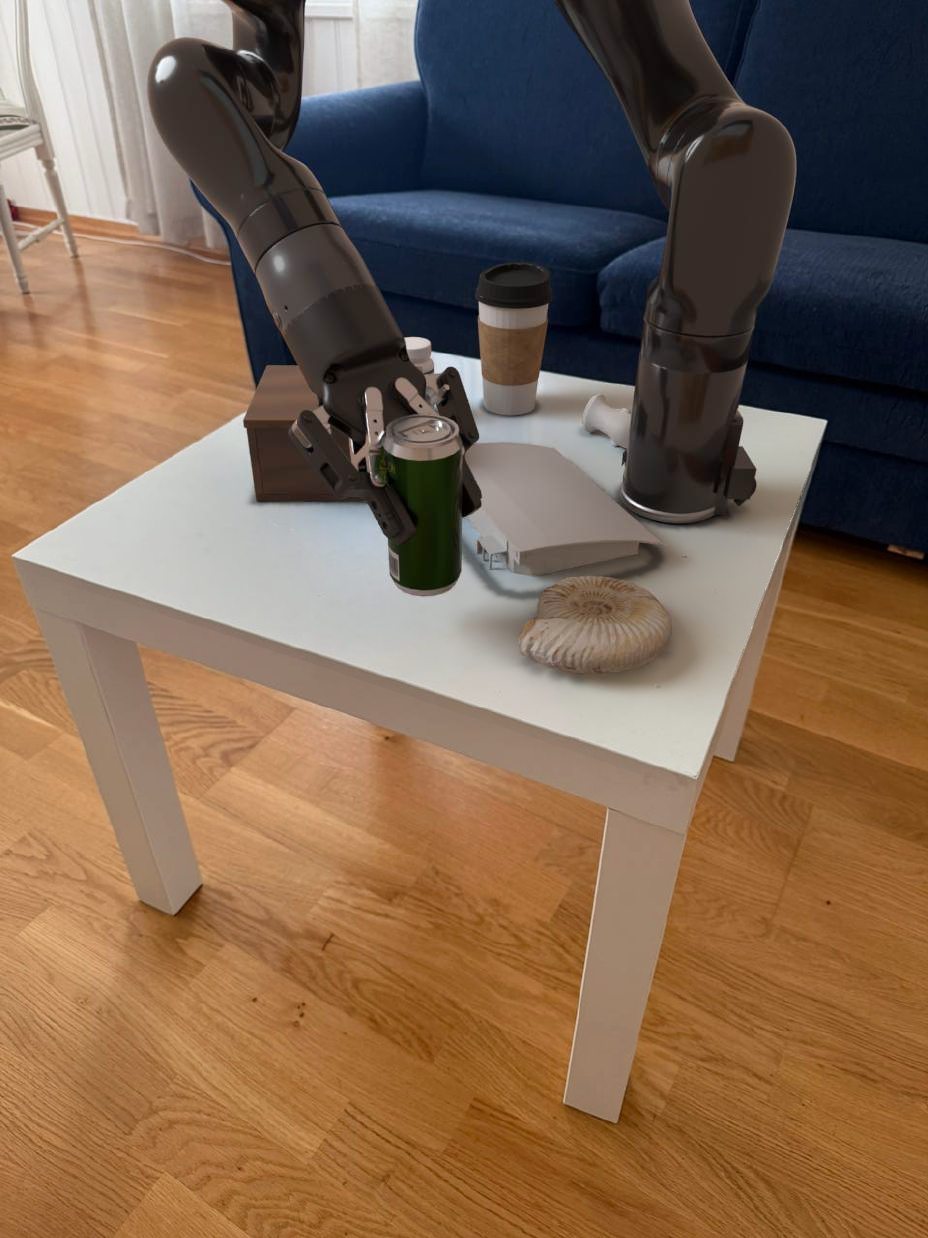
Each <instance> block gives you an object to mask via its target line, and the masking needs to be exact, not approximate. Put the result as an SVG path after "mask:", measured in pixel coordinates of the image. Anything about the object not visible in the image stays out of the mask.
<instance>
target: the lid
mask: <svg viewBox="0 0 928 1238" xmlns="http://www.w3.org/2000/svg"><path fill="white" fill-rule="evenodd" d="M416 367H417V368H419V369H420V370H421V371H422V372H423V367H422V366H416ZM317 408H318V399H317V395H316V394H315V393H314V392H312V391H311V389H310V388H309V386H308V384H307V382H306V380H305V378H304V376H303V374H302V372H301V370H300V368H299V366H298V364H297V365H293V364H291V365H290V364H289V365H285V364H284V365H282V364H281V365H280V364H277V365H276V364H268V365H267V364H266V366H265V369H264V371H263V374H262V376H261V377H260V380H259V383H258V384H257V387H256V389H255V392H254V394H253V396H252V399H251V401H250V403H249V405H248V408H247V410H246V411H245V412H246V413H245V415H244V417H243V419H242V422H243V428H244V429H246V428H291V426H292V425H293V423H294V422H295V420H296V419H297V418H298V416H299V415H300V413H301V412H302V411H304V410H309V411H313V410H315V409H317ZM330 428H333V427H332V426H330Z"/></svg>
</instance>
